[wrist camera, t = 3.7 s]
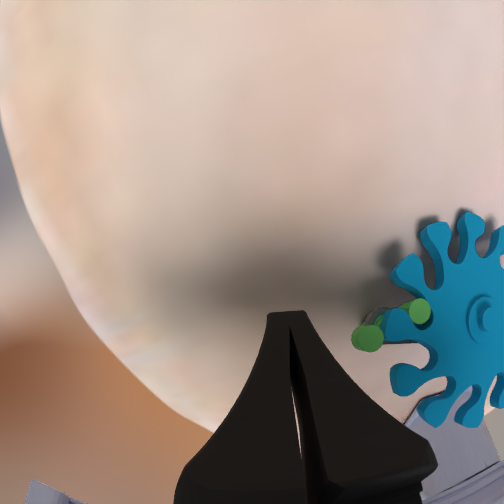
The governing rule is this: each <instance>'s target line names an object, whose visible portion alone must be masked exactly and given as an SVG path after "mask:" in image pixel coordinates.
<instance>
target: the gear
mask: <svg viewBox="0 0 504 504" xmlns="http://www.w3.org/2000/svg"><path fill="white" fill-rule="evenodd" d="M457 230H458V233H459V237H460V252H459V256H458V259H457V261H456V264H454V263H453V262H452V261H451V260H450V259H449V257H448V253H447V249H448V245H449V242H450V240H451V230H450V227H449V225H448V224H447V223H446V222H436V223H433V224H430V225H428V226H426V227H425V228H424V229H423V230H422V231H421V232H420V240H421V243H422V244H423V246H424V247H425V248H426V249H427V251H428V252H429V254H430V256H431V258H432V260H433V263H434V267H435V277H436V284H435V287H434V289H433V290H431V289H430V288H428V287H427V285H426V284H425V281H424V269H423V264H422V261H421V260H420V258H419V257H418V256H417V255H415V254H413V253H412V254H410V255H408V256H407V257H406V258H404V259H403V260H401V261H400V262H399V263H398V264H397V265H396V266H395V267H394V269H393V270H392V272H391V273H390V274H389V275H390V278H391V280H392V282H393V283H394V284H395V285H397V286H398V287H401V288H404V289H406V290H407V291H409V292H410V293H411V294H413V295H414V296H415V298H416V299H415V300H412V301H408V302H405V303H403V304H402V305H401V306H400V308H388V307H383V308H379V309H376V310H374V311H372V312H371V313H369V315H368V316H367V317H366V319H365V322H363V323H362V325H361V326H360V327H358V328H356V329H355V330H354V332H353V333H352V337H351V341H352V344H353V346H354V347H355V348H356V349H358V350H362V351H366V352H374V351H376V350H378V349H379V348H380V347H381V346H382V344H406V343H420V344H421V345H423V346H424V347H426V348H427V349H428V351H429V354H430V359H429V362H428V364H427V365H426V366H425V367H424V368H422V369H419V368H417V367H415V366H413V365H409V364H405V363H398V364H396V365H394V366H393V367H391V369H390V382H391V387H392V390H393V393H395V394H397V395H399V396H403V397H404V396H409V395H411V394H413V393H414V392H415V391H416V390H417V389H418V388H419V387H420V386H421V385H423V384H424V383H426V382H427V381H429V380H431V379H433V378H436V377H441V376H446V378H447V387H446V389H445V391H444V392H443V393H442V394H440V395H438V396H432V397H427V398H425V399H424V400H422V401H421V402H420V403H419V405H418V406H417V408H416V410H417V412H418V414H419V416H420V417H421V418H422V419H423V420H424V421H425V422H426V423H428V424H429V425H431V426H432V427H434V428H437V427H439V426H440V425H441V424H442V423H443V422H444V421H445V419H446V418H447V415H448V413H449V411H450V409H451V407H452V405H453V404H454V402H455V401H456V400H457V398H458V397H459V396H460V395H461V394H462V393H463V392H464V391H465V390H466V389H468V388H469V387H470V386H471V385H472V394H471V396H470V398H469V399H468V400H467V401H466V402H465V403H464V404H462V405H461V406H460V407H459V408H458V410H457V411H456V413H455V416H454V422H456V423H458V424H460V425H462V426H464V427H467V428H476V427H478V426H479V425H480V424H481V422H482V420H483V416H484V404H485V399H486V396H487V393H488V390H489V388H490V386H491V384H492V381H493V379H494V377H495V376H496V375H497V381H496V384H495V386H494V389H493V391H492V393H491V396H490V405H491V406H492V407H496V408H500V409H501V408H504V269H503V268H502V267H501V265H500V260H499V257H500V255H503V254H504V225H503V226H501V227H500V228H498V229H496V230H495V231H493V232H492V234H491V240H490V246H489V249H488V251H487V253H486V255H485V256H484V257H483V258H481V257H480V256H479V255H478V254H477V252H476V250H475V241H476V239H477V238H478V237H479V236H481V235H482V234H483V232H484V230H485V223H484V220H483V219H482V218H481V217H479V216H478V215H476V214H473V213H470V212H466V213H465V214H463V215H462V216H461V217H460V218H459V219H458V221H457Z"/></svg>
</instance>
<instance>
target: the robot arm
mask: <svg viewBox="0 0 504 504" xmlns="http://www.w3.org/2000/svg"><path fill="white" fill-rule="evenodd" d="M291 387H292V389H291ZM292 392H293V397H292ZM471 394H472V385H471V386H470V387H469V388H468V389H466V390H465V391H464V392H463V393H462V394H461V395H460V396H459V397H458V398H457V400H456V401H455V402H454V404H453V405H452V407H451V409H450V411H449V413H448V415H447V418H446V419H445V421H444V422H443V423H442V424H441V425H440V426H439V427H437V428H434V427H432V426H431V425H429V424H428V423H426V422H425V421H424V420H423V419H422V418H421V417H420V416H419V414H418V412H417V410H416V409H415V410H414V412H413V413H412V415H411V416H410V418H409V419H408V420H407V422H406V423H405V425H403V424H402V423H401V422H399V421H398V420H397V419H395V418H394V417H392V416H391V415H390V414H389V413H388V412H386V411H385V410H384V409H383V408H382V407H380V406H379V405H378V404H377V403H376V402H374V401H373V400H372V399H371V398H370V397H369V396H368V395H367V394H366V393H365V392H364V391H363V390H362V389H361V388H360V387H359V386H358V385H357V384H356V383H355V382H354V381H353V380H352V379H351V378H350V376H349V375H348V374H347V373H346V372H345V371H344V369H343V368H342V367H341V366H340V364H339V363H338V362H337V361H336V359H335V358H334V357H333V355H332V354H331V353H330V351H329V350H328V348H327V347H326V346H325V344H324V343H323V341H322V340H321V338H320V337H319V335H318V333H317V332H316V330H315V328H314V327H313V325H312V323H311V321H310V319H309V317H308V315H307V313H306V312H305V311H304V310H300V311H286V312H272V313H269V314H268V315H267V323H266V329H265V334H264V338H263V341H262V344H261V347H260V350H259V353H258V356H257V359H256V361H255V364H254V366H253V369H252V371H251V373H250V376H249V378H248V380H247V382H246V384H245V386H244V388H243V390H242V391H241V393H240V395H239V397H238V399H237V400H236V402H235V404H234V405H233V407H232V408H231V410H230V412H229V413H228V415H227V416H226V418H225V419H224V421H223V422H222V423H221V425H220V426H219V427H218V429H217V430H216V431H215V433H214V434H213V435H212V436H211V438H210V439H209V440H208V441H207V443H206V444H205V445H204V446H203V447H202V448H201V449H200V451H199V452H198V453H197V454H196V455H195V456H194V457H193V458H192V459H191V460H190V461H189V462H188V463H187V464H186V465H185V467H184V469H183V471H182V473H181V475H180V478H179V480H178V483H177V486H176V490H175V495H174V504H504V460H503V461H500V458H499V455H498V453H497V450H496V448H495V445H494V442H493V440H492V437H491V435H490V432H489V430H488V428H487V426H486V423H485V421H484V419H483V420H482V422H481V424H480V425H479V426H478V427H476V428H467V427H464V426H462V425H460V424H458V423H456V422H454V416H455V413H456V411H457V410H458V408H459V407H460V406H461V405H462V404H464V403H465V402H466V401H467V400H468V399H469V398H470V396H471ZM439 395H440V394H439ZM436 396H438V395H436ZM293 398H294V403H295V408H296V413H297V418H298V424H299V431H300V444H301V453H300V447H299V440H298V433H297V426H296V419H295V412H294V404H293ZM423 400H424V399H423ZM420 402H421V401H420ZM418 405H419V404H418ZM416 408H417V407H416ZM301 458H302V459H301ZM421 497H422V498H426V499H425V500H421ZM25 504H87V503H84V502H81V501H79V500H76V499H74V498H71V497H69V496H68V495H66V494H65V493H63V492H61V491H59V490H57V489H55V488H53V487H51V486H48V485H46V484H44V483H42V482H40V481H38V480H36V479H31V483H30V486H29V489H28V493H27V496H26V500H25Z"/></svg>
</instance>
